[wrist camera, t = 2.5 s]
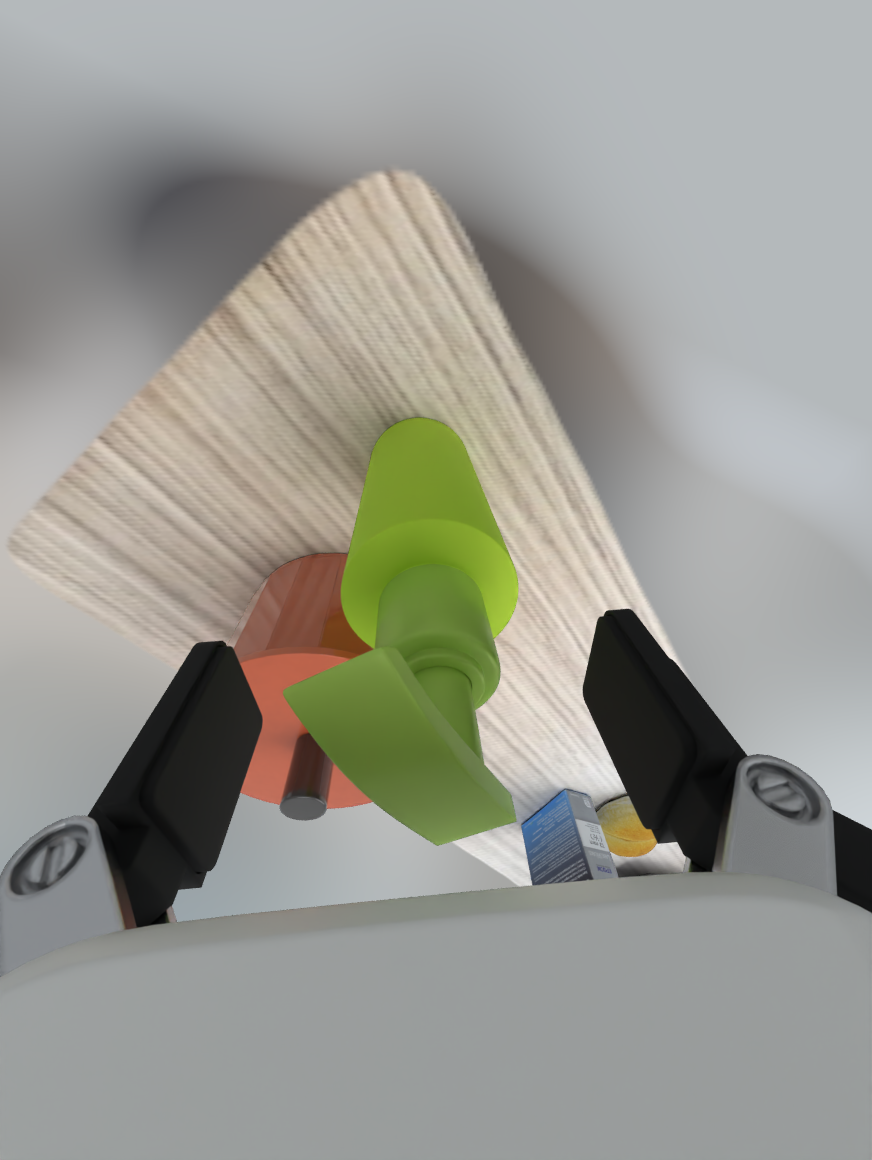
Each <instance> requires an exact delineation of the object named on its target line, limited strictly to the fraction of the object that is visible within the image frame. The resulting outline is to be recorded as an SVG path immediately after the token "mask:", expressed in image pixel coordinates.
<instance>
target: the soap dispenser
mask: <svg viewBox="0 0 872 1160" xmlns="http://www.w3.org/2000/svg"><path fill="white" fill-rule="evenodd" d="M517 598H518V578H517V574H516V570H515V567H514V565H513V562H512V560H511V557H510V555H509V552H508V550H507V548H506V545H505V543H504V540H503V538H502V535H501V533H500V531H499V528H498V526H497V523H496V521H495V518H494V516H493V514H492V511H491V509H490V506H489V504H488V502H487V499H486V497H485V494H484V492H483V489H482V487H481V485H480V482H479V480H478V477H477V475H476V472H475V470H474V468H473V465H472V463H471V460H470V458H469V456H468V453H467V451H466V448H465V446H464V444H463V442H462V441H461V439H460V438H459V436H458V435H457V434H456V433H455V432H454V431H453V430H452V429H451V428H449V427H448V426H446V425H445V424H443V423H441V422H438V421H436V420H433V419H428V418H411V419H406V420H403V421H400V422H398V423H396V424H394V425H393V426H391V427H390V428H388V429H387V430H386V431H385V432H384V433H383V434H382V435H381V436H380V438H379V439H378V441H377V442H376V444H375V446H374V448H373V451H372V454H371V458H370V463H369V467H368V471H367V476H366V480H365V484H364V488H363V493H362V497H361V501H360V506H359V510H358V514H357V518H356V523H355V527H354V531H353V535H352V540H351V544H350V548H349V553H348V557H347V561H346V565H345V570H344V574H343V578H342V583H341V603H342V607H343V611H344V614H345V616H346V619H347V621H348V623H349V624H350V626H351V628H352V629H353V630H354V632H355V633H356V634H357V635H358V636H359V637H360V638H361V639H362V640H363V641H364V642H365V643H366V644H368V645H369V646H371V647H372V648H374V649H373V650H371V651H369V652H366V653H364V654H362V655H359V656H357V657H355V658H353V659H350V660H348V661H346V662H343V663H341V664H339V665H337V666H334V667H332V668H330V669H327V670H325V671H323V672H321V673H318V674H316V675H314V676H312V677H309V678H307V679H305V680H303V681H300V682H298V683H296V684H294V685H292V686H289V687H287V688H286V689H284V690H283V696H284V697H285V699H286V701H287V702H288V704H289V706H290V707H291V708H292V710H293V711H294V713H295V714H296V716H297V717H298V718H299V720H300V721H301V722H302V724H303V725H304V726H305V728H306V729H307V730H308V732H309V733H310V734H311V736H312V737H313V738H314V740H315V741H316V742H317V743H318V745H319V746H320V747H321V748H322V750H323V751H324V752H325V753H326V754H327V756H328V757H329V758H330V759H331V760H332V762H333V763H334V764H335V765H336V766H337V767H338V768H339V770H340V771H341V772H342V773H343V774H344V775H345V776H346V777H347V778H348V779H349V780H350V781H351V782H352V783H353V784H354V785H355V786H356V787H357V788H358V789H359V790H360V791H361V792H362V793H363V794H365V795H366V796H367V797H368V798H369V799H370V800H371V801H373V802H374V803H375V804H376V805H377V806H379V807H380V808H381V809H383V810H384V811H385V812H387V813H388V814H389V815H391V816H392V817H393V818H395V819H396V820H398V821H399V822H401V823H402V824H404V825H405V826H407V827H408V828H410V829H411V830H413V831H414V832H416V833H417V834H419V835H421V836H422V837H424V838H425V839H427V840H429V841H430V842H432V843H434V844H435V845H437V846H438V845H442V844H445V843H449V842H452V841H455V840H458V839H462V838H465V837H468V836H471V835H474V834H478V833H481V832H484V831H487V830H491V829H494V828H497V827H500V826H503V825H507V824H510V823H513V822H516V815H515V810H514V805H513V801H512V796H511V794H510V793H509V792H508V791H507V789H506V788H505V787H504V786H503V785H502V784H501V783H500V782H499V781H498V779H497V778H496V777H495V776H494V775H493V774H492V773H491V772H490V770H489V769H488V768H487V767H486V766H485V765H484V759H483V753H482V747H481V742H480V736H479V730H478V724H477V718H476V712H475V710H476V709H478V708H479V707H480V706H482V705H483V704H484V703H485V702H486V701H487V700H488V699H489V698H490V697H491V696H492V695H493V693H494V692H495V690H496V688H497V686H498V684H499V680H500V662H499V658H498V654H497V650H496V646H495V642H494V638H495V637H496V636H497V635H498V634H499V633H500V632H501V631H502V630H503V629H504V627H505V626H506V625H507V623H508V622H509V620H510V618H511V616H512V614H513V612H514V609H515V606H516V603H517Z"/></svg>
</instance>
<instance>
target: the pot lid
mask: <svg viewBox="0 0 872 1160" xmlns="http://www.w3.org/2000/svg"><path fill="white" fill-rule="evenodd" d="M359 655H360V654H356V653H352V652H349V651H344V650H338V649H332V648H325V647H311V646H298V647H282V648H274V649H267V650H263V651H259V652H254V653H250V654H248V655H245V656H242V657H239V658H238V660H239V663H240V665H241V667H242V670H243V672H244V674H245V676H246V679H247V681H248V683H249V686H250V688H251V690H252V693H253V695H254V697H255V700H256V702H257V704H258V707H259V709H260V711H261V714H262V718H263V724H262V730H261V733H260V736H259V738H258V741H257V744H256V747H255V750H254V753H253V756H252V759H251V762H250V765H249V768H248V771H247V774H246V777H245V780H244V783H243V786H242V789H241V792H240V793H243V794H245V795H248V796H250V797H253V798H256V799H259V800H262V801H266V802H269V803H274V804H278V805H280V811H281V812H282V813H283V814H284V815H285V816H287V817H289V818H292V819H296V820H313V819H317V818H319V817H321V816H322V815H324V813H325V812H326V810H327V809H331V808H344V807H353V806H358V805H363V804H367V803H371V802H373V801H371V800H370V799H369V798H368V797H367V796H366V795H365V794H363V793H362V792H361V791H360V790H359V789H358V788H357V787H356V786H355V785H354V784H353V783H352V782H351V781H350V780H349V779H348V778H347V777H346V776H345V775H344V774H343V773H342V772H341V771H340V770H339V768H338V767H337V766H336V765H335V764H334V763H333V762H332V760H331V759H330V758H329V757H328V756H327V754H326V753H325V752H324V751H323V750H322V748H321V747H320V746H319V745H318V743H317V742H316V741H315V740H314V738H313V737H312V736H311V734H310V733H309V732H308V730H307V729H306V728H305V726H304V725H303V724H302V722H301V721H300V720H299V718H298V717H297V716H296V714H295V713H294V711H293V710H292V708H291V707H290V706H289V704H288V702H287V701H286V699H285V697H284V696H283V690H284V689H286V688H287V687H289V686H292V685H294V684H296V683H298V682H300V681H303V680H305V679H307V678H309V677H312V676H314V675H316V674H318V673H321V672H323V671H325V670H327V669H330V668H332V667H334V666H337V665H339V664H341V663H343V662H346V661H348V660H350V659H353V658H355V657H357V656H359Z"/></svg>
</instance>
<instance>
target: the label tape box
mask: <svg viewBox="0 0 872 1160" xmlns="http://www.w3.org/2000/svg"><path fill="white" fill-rule="evenodd" d="M521 828H522V833H523V838H524V843H525V848H526V854H527V859H528V865H529V870H530V875H531V880H532V885H544V884H555V883H565V882H576V881H587V880H598V879H608V878H619V877H618V874H617V871H616V868H615V865H614V862H613V859H612V857H611V854H610V851H609V848H608V845H607V843H606V840H605V837H604V834H603V831H602V828H601V826H600V823H599V820H598V817H597V814H596V811H595V808H594V806H593V803H592V800H591V797H590V796H587V795H584V794H581V793H578V792H575V791H570V790H564V791H562V792H561V793H560V794H559V795H558V796H556V797H555V798H554V799H553V800H552V801H551V802H549V803H548V804H547V805H546V806H545V807H544V808H543V809H541V810H540V811H539V812H538V813H537V814H535V815H534V816H533V817H532V818H530V819H529V820H528V821H527V822H526V823H524V824H523V825H522V826H521Z"/></svg>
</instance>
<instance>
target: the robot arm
mask: <svg viewBox="0 0 872 1160" xmlns="http://www.w3.org/2000/svg"><path fill="white" fill-rule="evenodd" d="M583 697H584V700H585V703H586V705H587V707H588V709H589V712H590V714H591V716H592V718H593V720H594V722H595V724H596V727H597V729H598V731H599V733H600V735H601V737H602V740H603V742H604V744H605V746H606V748H607V750H608V753H609V755H610V757H611V759H612V761H613V763H614V766H615V768H616V770H617V772H618V774H619V776H620V778H621V781H622V783H623V785H624V787H625V789H626V791H627V794H628V796H629V798H630V800H631V802H632V804H633V807H634V809H635V811H636V813H637V815H638V817H639V819H640V821H641V823H642V825H643V826H644V828H646V829H651V830H652V833H653V835H654V837H655V839H656V841H657V843H658V844H660V843H671V842H678V844H679V846H680V848H681V850H682V852H683V854H684V855H685V856H686V861H685V865H684V870H683V873H675V874H662V875H648V876H634V877H621V878H608V879H598V880H587V881H576V882H565V883H555V884H544V885H533V886H522V887H512V888H501V889H490V890H480V891H470V892H460V893H449V894H439V895H430V896H419V897H409V898H399V899H389V900H380V901H368V902H358V903H349V904H338V905H329V906H319V907H309V908H300V909H290V910H281V911H271V912H261V913H251V914H241V915H232V916H224V917H216V918H207V919H200V920H192V921H183V922H177V920H176V917H175V914H174V911H173V908H172V904H173V902H174V899H175V897H176V894H177V892H178V890H180V889H190V888H200V887H202V884H203V881H204V879H205V876H206V873H207V871H211V870H212V869H213V868H214V866H215V864H216V862H217V859H218V857H219V854H220V851H221V848H222V845H223V842H224V839H225V836H226V833H227V830H228V827H229V824H230V821H231V818H232V815H233V812H234V809H235V806H236V803H237V801H238V798H239V794H240V792H241V789H242V786H243V783H244V780H245V777H246V774H247V771H248V768H249V765H250V762H251V759H252V756H253V753H254V750H255V747H256V744H257V741H258V738H259V736H260V733H261V730H262V724H263V718H262V714H261V711H260V709H259V707H258V704H257V702H256V700H255V697H254V695H253V693H252V690H251V688H250V686H249V683H248V681H247V679H246V676H245V674H244V672H243V670H242V667H241V665H240V663H239V660H238V658H237V656H236V653H235V651H234V649H233V647H231V646H227V645H226V643H225V642H223V641H213V642H200V643H197V644H195V646H194V647H193V648H192V650H191V651H190V653H189V655H188V656H187V658H186V659H185V661H184V663H183V664H182V666H181V667H180V669H179V671H178V672H177V674H176V676H175V677H174V679H173V680H172V682H171V684H170V685H169V687H168V688H167V690H166V692H165V693H164V695H163V696H162V698H161V700H160V701H159V703H158V704H157V706H156V707H155V709H154V711H153V712H152V713H151V715H150V717H149V719H148V720H147V722H146V723H145V725H144V726H143V728H142V730H141V731H140V733H139V734H138V736H137V738H136V739H135V741H134V742H133V744H132V746H131V747H130V749H129V751H128V752H127V754H126V755H125V757H124V758H123V760H122V762H121V763H120V765H119V766H118V768H117V770H116V771H115V773H114V774H113V776H112V778H111V779H110V781H109V783H108V784H107V786H106V787H105V789H104V790H103V792H102V794H101V795H100V797H99V799H98V800H97V802H96V803H95V805H94V806H93V808H92V810H91V812H90V813H89V814H88V816H72V817H68V818H65V819H61V820H59V821H57V822H55V823H53V824H51V825H49V826H47V827H45V828H44V829H42V830H41V831H39V832H38V833H37V834H35V835H34V836H32V837H31V838H30V839H29V840H28V841H27V842H26V843H24V844H23V845H22V846H21V847H20V848H19V849H18V850H17V851H16V852H15V854H14V855H13V856H12V858H11V859H10V860H9V861H8V863H7V864H6V866H5V867H4V869H3V871H2V873H1V875H0V1160H872V830H871V829H869V828H867V827H865V826H863V825H861V824H859V823H857V822H855V821H853V820H851V819H849V818H847V817H845V816H843V815H841V814H840V813H838V812H835V811H834V810H832V807H831V803H830V800H829V798H828V797H827V795H826V794H825V792H824V790H823V789H822V788H821V787H820V786H819V785H818V784H817V783H816V781H815V780H814V779H813V778H812V777H810V776H809V775H807V774H806V773H805V772H803V771H802V770H801V769H800V768H798V767H796V766H794V765H792V764H790V763H789V762H787V761H785V760H782V759H779V758H776V757H773V756H768V755H760V754H756V755H751V756H747V755H746V753H745V752H744V751H743V749H742V748H741V747H740V746H739V744H738V743H737V742H736V740H735V739H734V738H733V736H732V735H731V734H730V733H729V731H728V730H727V729H726V727H725V726H724V725H723V724H722V722H721V721H720V720H719V718H718V717H717V716H716V715H715V713H714V712H713V711H712V709H711V708H710V707H709V705H708V704H707V703H706V702H705V700H704V699H703V698H702V696H701V695H700V694H699V692H698V691H697V690H696V688H695V687H694V686H693V685H692V683H691V682H690V681H689V679H688V678H687V677H686V676H685V674H684V673H683V672H682V670H681V669H680V668H679V666H678V665H677V664H676V663H675V662H674V661H673V660H672V659H670V658H669V657H668V656H667V655H666V654H665V652H664V651H663V650H662V648H661V647H660V646H659V644H658V643H657V642H656V640H655V639H654V638H653V636H652V635H651V634H650V633H649V631H648V630H647V629H646V627H645V626H644V625H643V623H642V622H641V621H640V619H639V618H638V617H637V615H636V614H635V613H634V612H633V611H632V610H631V609H620V610H608V611H606V612H605V614H604V616H603V617H599V618H598V621H597V625H596V630H595V634H594V639H593V643H592V648H591V652H590V657H589V661H588V666H587V671H586V675H585V680H584V684H583Z"/></svg>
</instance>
